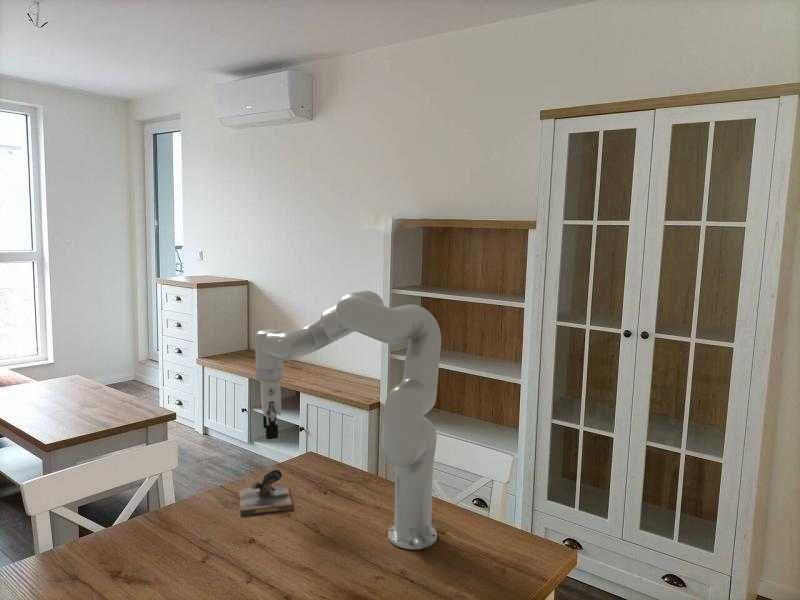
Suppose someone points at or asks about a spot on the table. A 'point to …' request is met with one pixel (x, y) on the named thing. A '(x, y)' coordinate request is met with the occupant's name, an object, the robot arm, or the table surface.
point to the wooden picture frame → (264, 500)
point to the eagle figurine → (267, 483)
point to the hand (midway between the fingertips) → (270, 432)
